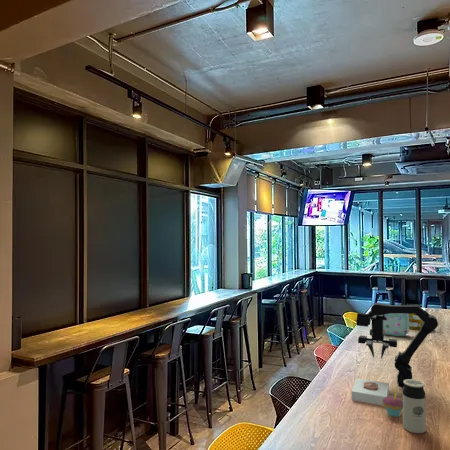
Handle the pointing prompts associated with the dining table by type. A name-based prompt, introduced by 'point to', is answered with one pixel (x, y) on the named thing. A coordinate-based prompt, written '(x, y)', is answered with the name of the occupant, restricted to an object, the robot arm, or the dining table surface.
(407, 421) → the travel mug
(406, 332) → the lunch box
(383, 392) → the button box
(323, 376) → the dining table surface
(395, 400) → the cupcake
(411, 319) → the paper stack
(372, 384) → the button
